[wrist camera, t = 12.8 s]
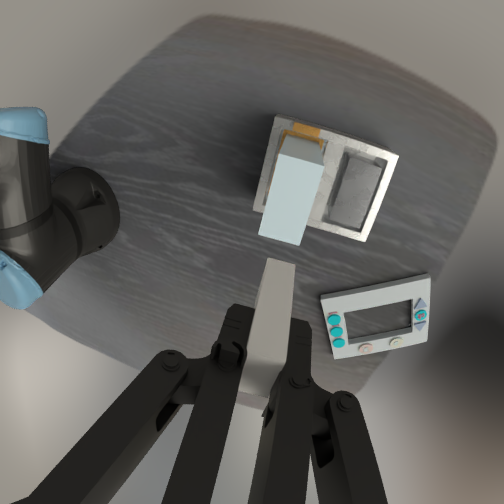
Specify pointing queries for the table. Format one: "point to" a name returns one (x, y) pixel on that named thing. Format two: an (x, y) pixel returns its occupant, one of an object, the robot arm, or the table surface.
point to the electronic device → (373, 297)
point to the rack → (335, 176)
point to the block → (292, 190)
